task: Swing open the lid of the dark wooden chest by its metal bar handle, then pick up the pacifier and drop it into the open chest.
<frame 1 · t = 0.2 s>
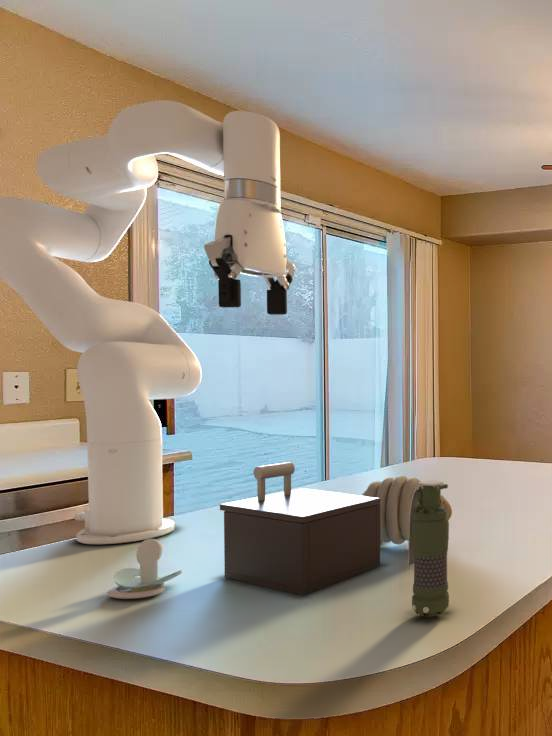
hand: (254, 311, 91), 37 cm above the counter, tool pointing down, fingers open, 9 cm apart
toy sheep: (398, 546, 93), on the counter
dark wooden chest: (305, 571, 80), on the counter
pacifier: (142, 593, 72), on the counter
grenade: (429, 616, 67), on the counter
lid: (302, 487, 80), point 12 cm above the counter, hinge at 0.0°
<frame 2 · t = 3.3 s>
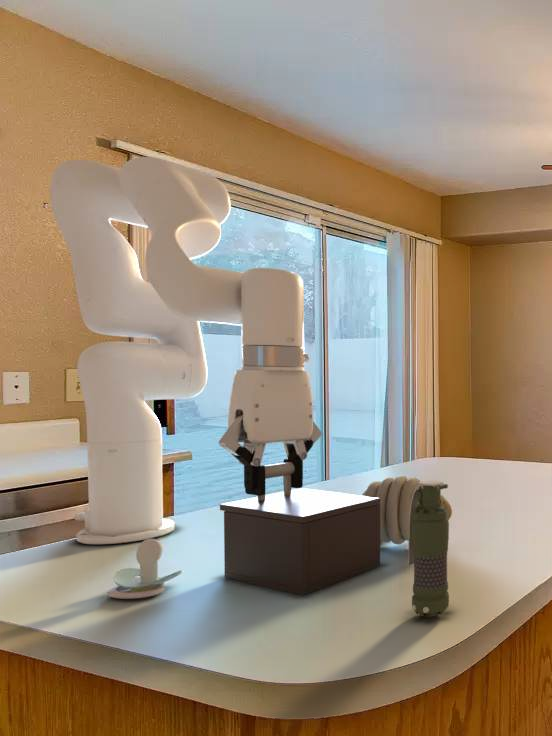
hand: (274, 489, 82), 11 cm above the counter, tool pointing down, fingers closed on lid, 5 cm apart
lid: (302, 487, 80), point 12 cm above the counter, hinge at 0.0°, touching gripper
everything else where it was.
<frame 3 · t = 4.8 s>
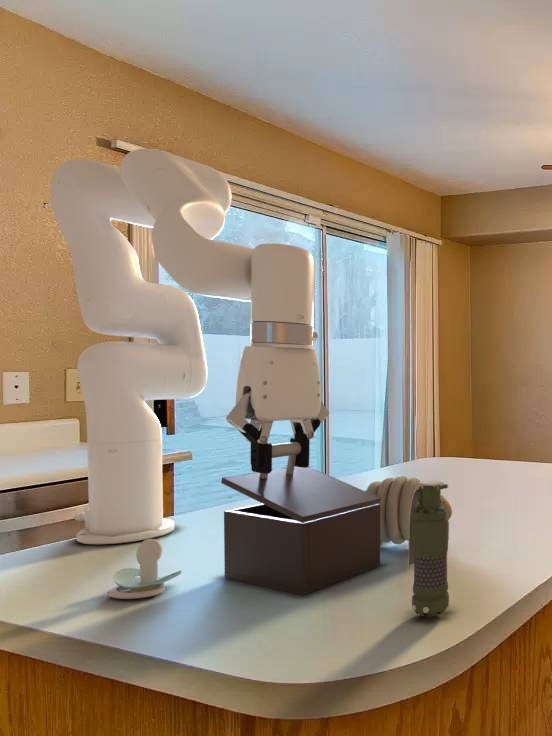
hand: (280, 467, 82), 14 cm above the counter, tool pointing down, fingers closed on lid, 5 cm apart
lid: (306, 474, 80), point 13 cm above the counter, hinge at 13.5°, touching gripper
everything else where it was.
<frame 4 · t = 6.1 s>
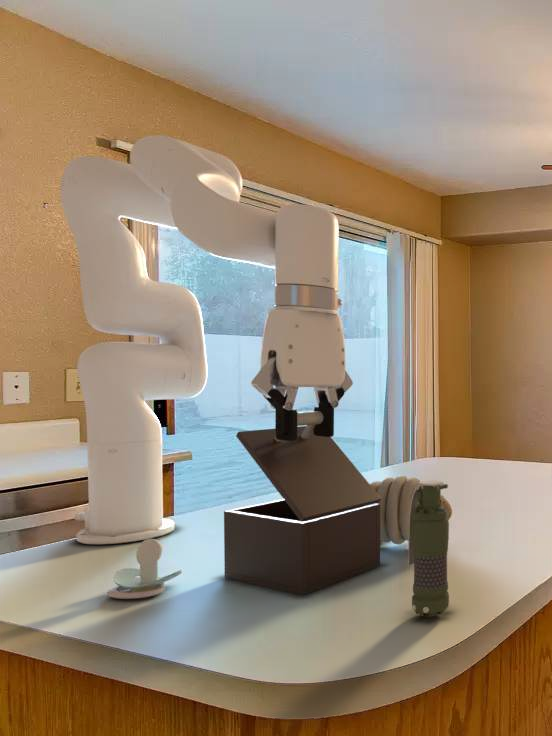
hand: (305, 436, 80), 18 cm above the counter, tool pointing down, fingers closed on lid, 5 cm apart
lid: (319, 456, 79), point 16 cm above the counter, hinge at 39.9°, touching gripper
everything else where it was.
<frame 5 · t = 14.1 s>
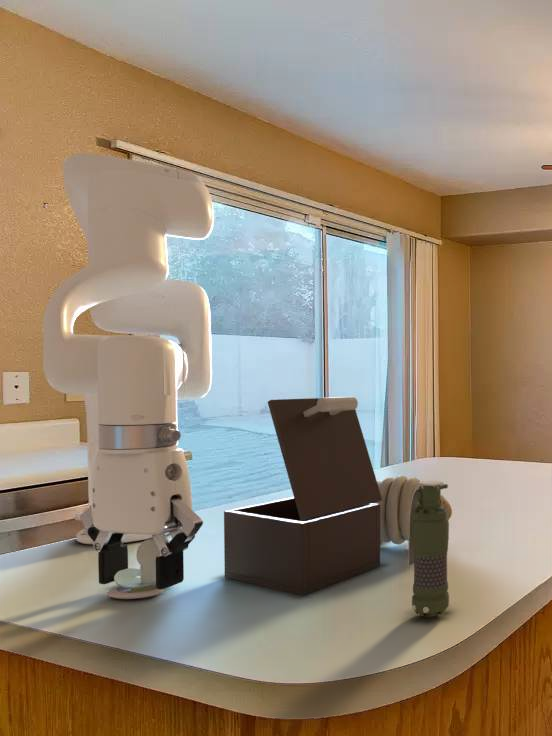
hand: (141, 582, 72), 1 cm above the counter, tool pointing down, fingers closed on pacifier, 7 cm apart
pacifier: (142, 594, 72), on the counter, touching gripper
lid: (340, 448, 77), point 17 cm above the counter, hinge at 68.1°
everything else where it was.
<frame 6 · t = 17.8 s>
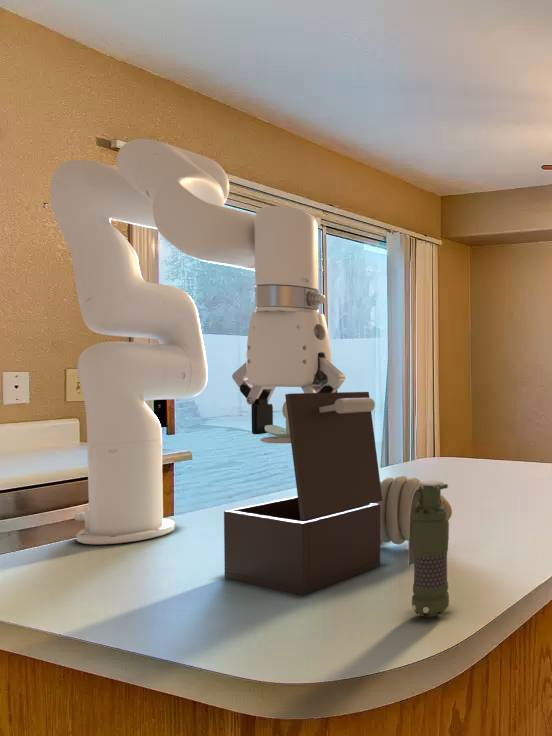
hand: (288, 433, 80), 19 cm above the counter, tool pointing down, fingers closed on pacifier, 7 cm apart
pacifier: (289, 444, 80), point 17 cm above the counter, touching gripper
lid: (350, 449, 76), point 17 cm above the counter, hinge at 80.6°
everything else where it was.
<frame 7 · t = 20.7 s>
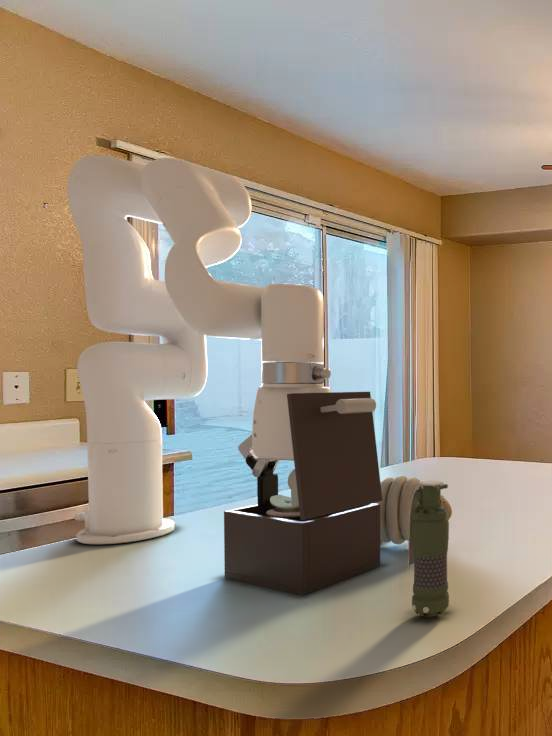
hand: (294, 505, 81), 9 cm above the counter, tool pointing down, fingers closed on pacifier, 7 cm apart
pacifier: (294, 515, 81), point 7 cm above the counter, touching gripper
lid: (350, 449, 76), point 17 cm above the counter, hinge at 81.6°
everything else where it was.
when the fingers open (9 cm above the counter, at t = 20.9 s): pacifier drops 7 cm, resting on dark wooden chest.
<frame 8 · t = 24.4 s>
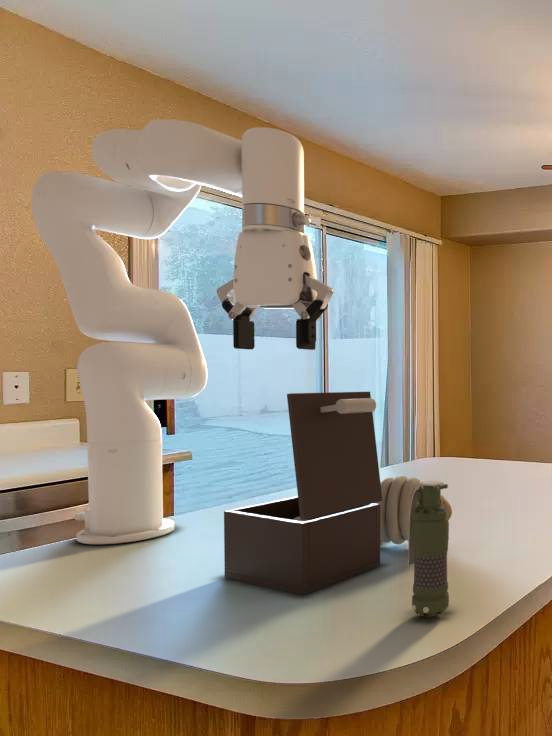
hand: (274, 349, 82), 30 cm above the counter, tool pointing down, fingers open, 9 cm apart
pacifier: (294, 565, 81), point 1 cm above the counter, touching dark wooden chest
everything else where it was.
at the end: lid at +82° (first picture: +0°); pacifier inside the target area in the dark wooden chest (1.8 cm from its centre), point 0.6 cm above the dark wooden chest's base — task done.
